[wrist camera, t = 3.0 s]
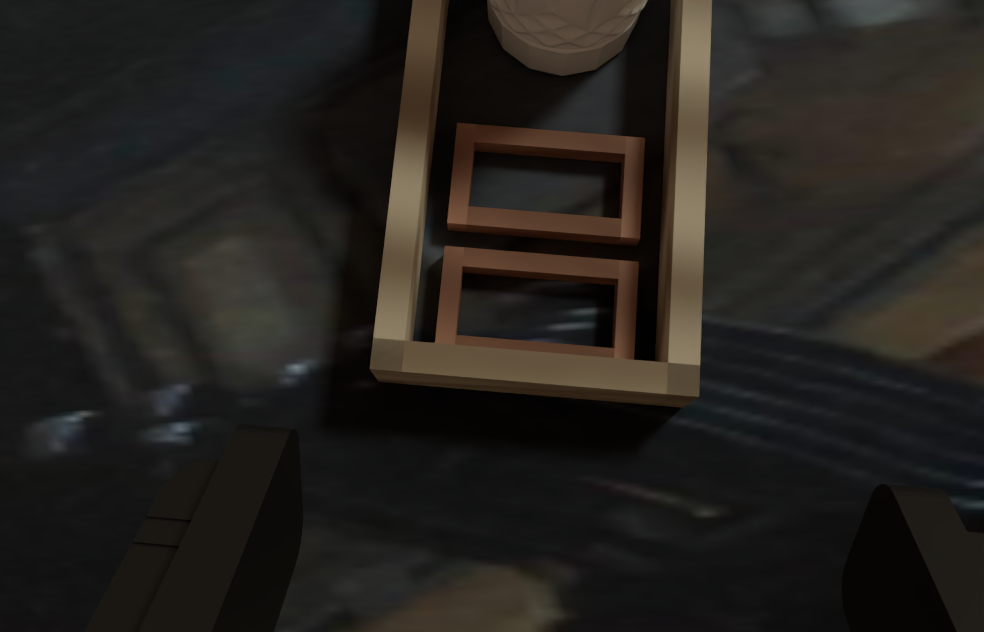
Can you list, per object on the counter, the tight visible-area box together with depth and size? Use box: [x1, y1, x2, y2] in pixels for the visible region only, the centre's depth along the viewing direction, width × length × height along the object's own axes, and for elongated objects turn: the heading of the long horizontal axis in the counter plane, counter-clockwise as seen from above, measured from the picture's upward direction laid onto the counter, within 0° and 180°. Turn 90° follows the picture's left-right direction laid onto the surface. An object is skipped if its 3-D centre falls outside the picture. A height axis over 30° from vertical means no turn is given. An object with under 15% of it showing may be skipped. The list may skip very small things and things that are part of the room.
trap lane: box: [370, 0, 712, 407], centre depth 40 cm, size 32×12×3 cm, turn 175°
